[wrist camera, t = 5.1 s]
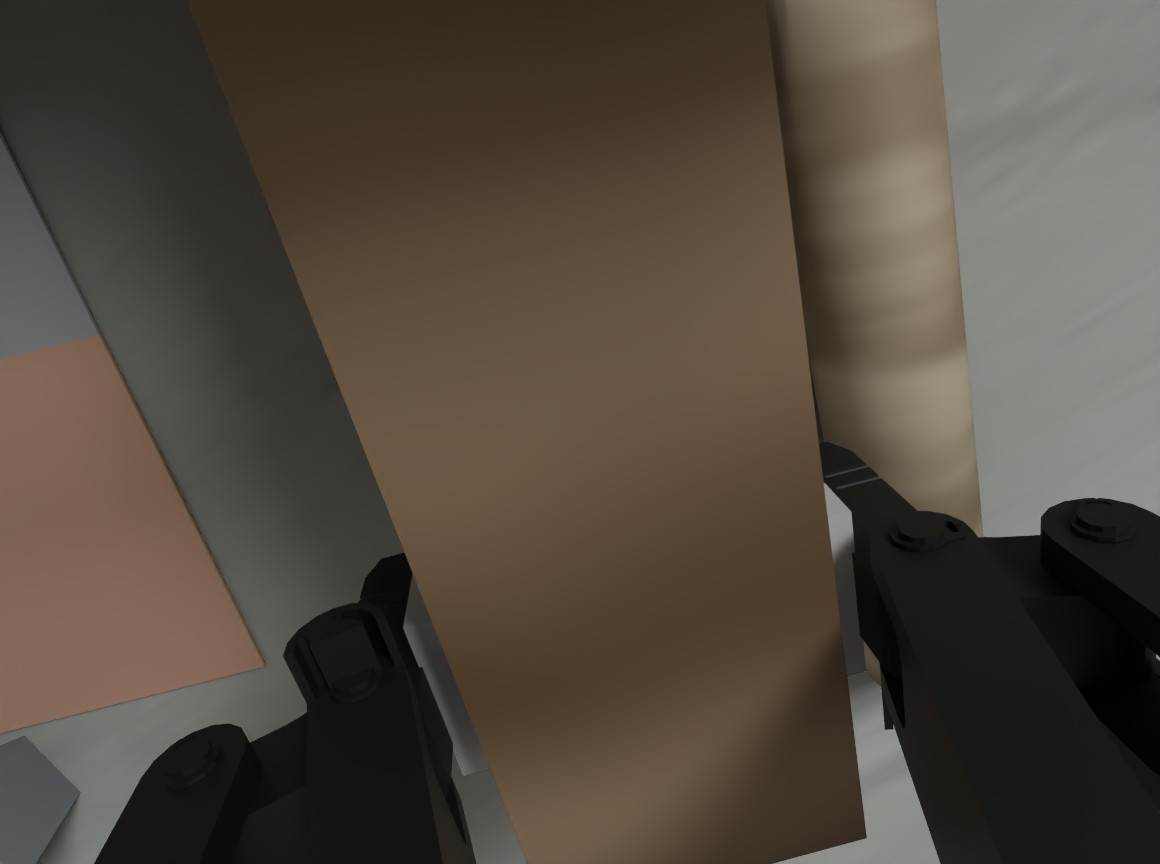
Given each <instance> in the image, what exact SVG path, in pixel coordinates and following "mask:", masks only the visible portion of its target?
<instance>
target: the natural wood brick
mask: <svg viewBox="0 0 1160 864" xmlns="http://www.w3.org/2000/svg"><path fill="white" fill-rule="evenodd" d="M187 3H188V5H189V8H190V11H191V13H192V16H193V18H194V21H195V23H196V26H197V28H198V31H199V33H200V36H201V38H202V41H203V43H204V46H205V49H206V51H207V54H208V56H209V59H210V61H211V64H212V66H213V69H214V71H215V74H216V76H217V79H218V81H219V84H220V87H221V89H222V92H223V94H224V97H225V99H226V102H227V104H228V107H229V109H230V112H231V114H232V117H233V119H234V122H235V124H236V127H237V130H238V132H239V135H240V137H241V140H242V142H243V145H244V147H245V150H246V152H247V155H248V157H249V160H250V162H251V165H252V168H253V170H254V173H255V175H256V178H257V180H258V183H259V185H260V188H261V190H262V193H263V195H264V198H265V200H266V203H267V206H268V208H269V211H270V213H271V216H272V218H273V221H274V223H275V226H276V228H277V231H278V233H279V236H280V238H281V241H282V243H283V246H284V249H285V251H286V254H287V256H288V259H289V261H290V264H291V266H292V269H293V271H294V274H295V276H296V279H297V281H298V284H299V287H300V289H301V292H302V294H303V297H304V299H305V302H306V304H307V307H308V309H309V312H310V314H311V317H312V319H313V322H314V324H315V327H316V330H317V332H318V335H319V337H320V340H321V342H322V345H323V347H324V350H325V352H326V355H327V357H328V360H329V362H330V365H331V368H332V370H333V373H334V375H335V378H336V380H337V383H338V385H339V388H340V390H341V393H342V395H343V398H344V400H345V403H346V406H347V408H348V411H349V413H350V416H351V418H352V421H353V423H354V426H355V428H356V431H357V433H358V436H359V438H360V441H361V443H362V446H363V449H364V451H365V454H366V456H367V459H368V461H369V464H370V466H371V469H372V471H373V474H374V476H375V479H376V481H377V484H378V487H379V489H380V492H381V494H382V497H383V499H384V502H385V504H386V507H387V509H388V512H389V514H390V517H391V519H392V522H393V525H394V527H395V530H396V532H397V535H398V537H399V540H400V542H401V545H402V547H403V550H404V552H405V555H406V557H407V560H408V562H409V565H410V568H411V570H412V573H413V575H414V578H415V580H416V583H417V585H418V588H419V590H420V593H421V595H422V598H423V600H424V603H425V606H426V608H427V611H428V613H429V616H430V618H431V621H432V623H433V626H434V628H435V631H436V633H437V636H438V638H439V641H440V643H441V646H442V649H443V651H444V654H445V656H446V659H447V661H448V664H449V666H450V669H451V671H452V674H453V676H454V679H455V681H456V684H457V687H458V689H459V692H460V694H461V697H462V699H463V702H464V704H465V707H466V709H467V712H468V714H469V717H470V719H471V722H472V725H473V727H474V730H475V732H476V735H477V737H478V740H479V742H480V745H481V747H482V750H483V752H484V755H485V757H486V760H487V762H488V765H489V768H490V770H491V773H492V775H493V778H494V780H495V783H496V785H497V788H498V790H499V793H500V795H501V798H502V800H503V803H504V806H505V808H506V811H507V813H508V816H509V818H510V821H511V823H512V826H513V828H514V831H515V833H516V836H517V838H518V841H519V844H520V846H521V849H522V851H523V854H524V856H525V859H526V861H527V864H773V863H776V862H780V861H784V860H787V859H791V858H795V857H798V856H802V855H806V854H809V853H813V852H817V851H821V850H824V849H828V848H832V847H835V846H839V845H843V844H846V843H850V842H854V841H858V840H861V839H865V838H867V837H866V829H865V821H864V812H863V804H862V796H861V788H860V779H859V771H858V763H857V755H856V746H855V738H854V730H853V722H852V713H851V705H850V697H849V689H848V680H847V672H846V664H845V656H844V647H843V639H842V631H841V623H840V614H839V606H838V598H837V589H836V581H835V573H834V565H833V556H832V548H831V540H830V532H829V523H828V515H827V507H826V499H825V490H824V482H823V474H822V466H821V457H820V449H819V441H818V433H817V424H816V416H815V408H814V400H813V391H812V383H811V375H810V367H809V358H808V350H807V342H806V334H805V325H804V317H803V309H802V301H801V292H800V284H799V276H798V268H797V259H796V251H795V243H794V234H793V226H792V218H791V210H790V201H789V193H788V185H787V177H786V168H785V160H784V152H783V144H782V135H781V127H780V119H779V111H778V102H777V94H776V86H775V78H774V69H773V61H772V53H771V45H770V36H769V28H768V20H767V12H766V3H765V0H187Z"/></svg>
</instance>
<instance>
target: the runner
mask: <svg viewBox="0 0 1160 864" xmlns="http://www.w3.org/2000/svg"><path fill="white" fill-rule="evenodd" d="M265 665H266V664H265V662H264V660H263V658H262V656H261V654H260V652H259V650H258V648H257V646H256V644H255V642H254V640H253V638H252V636H251V634H250V632H249V630H248V628H247V626H246V624H245V622H244V620H243V618H242V616H241V614H240V612H239V610H238V608H237V606H236V604H235V602H234V600H233V598H232V596H231V594H230V592H229V590H228V588H227V586H226V584H225V582H224V580H223V578H222V576H221V574H220V572H219V570H218V568H217V566H216V564H215V562H214V560H213V558H212V556H211V554H210V552H209V550H208V548H207V546H206V543H205V541H204V539H203V537H202V535H201V533H200V531H199V529H198V527H197V525H196V523H195V521H194V519H193V517H192V515H191V513H190V511H189V509H188V507H187V505H186V503H185V501H184V499H183V497H182V495H181V493H180V491H179V489H178V487H177V485H176V483H175V481H174V479H173V477H172V475H171V473H170V471H169V469H168V467H167V465H166V463H165V461H164V459H163V457H162V455H161V453H160V451H159V449H158V447H157V445H156V443H155V441H154V439H153V437H152V435H151V433H150V431H149V429H148V427H147V425H146V423H145V421H144V419H143V417H142V415H141V413H140V411H139V409H138V407H137V405H136V403H135V401H134V399H133V397H132V395H131V393H130V391H129V389H128V387H127V385H126V383H125V381H124V379H123V377H122V375H121V373H120V371H119V369H118V367H117V365H116V363H115V361H114V359H113V357H112V355H111V353H110V351H109V349H108V347H107V345H106V343H105V341H104V339H103V337H102V335H101V333H100V331H99V329H98V327H97V325H96V323H95V321H94V319H93V317H92V315H91V313H90V311H89V309H88V307H87V305H86V302H85V300H84V298H83V296H82V294H81V292H80V290H79V288H78V286H77V284H76V282H75V280H74V278H73V276H72V274H71V272H70V270H69V268H68V266H67V264H66V262H65V260H64V258H63V256H62V254H61V252H60V250H59V248H58V246H57V244H56V242H55V240H54V238H53V236H52V234H51V232H50V230H49V228H48V226H47V224H46V222H45V220H44V218H43V216H42V214H41V212H40V210H39V208H38V206H37V204H36V202H35V200H34V198H33V196H32V194H31V192H30V190H29V188H28V186H27V184H26V182H25V180H24V178H23V176H22V174H21V172H20V170H19V168H18V166H17V164H16V162H15V160H14V158H13V156H12V154H11V152H10V150H9V148H8V146H7V144H6V142H5V140H4V138H3V136H2V134H1V132H0V733H4V732H8V731H12V730H16V729H20V728H24V727H28V726H32V725H36V724H40V723H44V722H48V721H52V720H56V719H60V718H64V717H67V716H71V715H75V714H79V713H83V712H87V711H91V710H95V709H99V708H103V707H107V706H111V705H115V704H119V703H123V702H127V701H131V700H135V699H139V698H143V697H147V696H151V695H155V694H159V693H163V692H167V691H171V690H175V689H179V688H183V687H187V686H191V685H195V684H199V683H203V682H207V681H211V680H215V679H219V678H223V677H227V676H231V675H235V674H239V673H242V672H246V671H250V670H254V669H258V668H262V667H265Z"/></svg>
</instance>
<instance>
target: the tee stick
mask: <svg viewBox="0 0 1160 864" xmlns="http://www.w3.org/2000/svg"><path fill="white" fill-rule="evenodd" d="M79 794H80V791H79V790H78V789H77V788H76V787H75V786H74V785H73V784H72V783H71V782H70V781H69V780H68V779H67V778H66V777H65V776H64V775H63V774H62V773H61V772H60V771H59V770H58V769H57V768H56V767H55V766H54V765H53V764H52V763H51V762H50V761H49V760H48V759H47V758H46V757H45V756H44V755H43V754H42V753H41V752H40V751H39V750H38V749H37V748H36V747H35V746H34V745H33V744H32V743H31V742H30V741H29V740H28V739H27V738H26V737H25V736H22V737H20V738H18V739H15V740H13V741H11V742H8V743H6V744H4V745H1V746H0V864H42V863H41V862H40V861H38V859H39V857H40V856H41V854H42V853H43V851H44V849H45V848H46V846H47V845H48V843H49V842H50V840H51V838H52V837H53V835H54V834H55V832H56V830H57V829H58V827H59V826H60V824H61V822H62V821H63V819H64V818H65V816H66V814H67V813H68V811H69V810H70V808H71V806H72V805H73V803H74V802H75V800H76V799H77V797H78V795H79Z"/></svg>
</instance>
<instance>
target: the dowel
mask: <svg viewBox="0 0 1160 864" xmlns="http://www.w3.org/2000/svg"><path fill="white" fill-rule="evenodd" d="M765 3H766V12H767V20H768V28H769V36H770V45H771V53H772V61H773V69H774V78H775V86H776V94H777V102H778V111H779V119H780V127H781V135H782V144H783V152H784V160H785V168H786V177H787V185H788V193H789V201H790V210H791V218H792V226H793V234H794V243H795V251H796V259H797V268H798V276H799V284H800V292H801V301H802V309H803V317H804V325H805V334H806V342H807V350H808V356H809V362H810V367H811V373H812V378H813V384H814V389H815V395H816V401H817V406H818V412H819V417H820V423H821V428H822V434H823V439H824V443H825V442H829V443H832V444H835V445H837V446H840V447H843V448H846V449H848V450H851V451H852V452H853V453H855V454H856V455H857V456H858V457H859V458H860V459H861V460H862V461H863V462H864V463H866V465H867V467H870V468H871V469H872V470H873V471H874V472H875V473H877V474H878V475H879V478H882V479H883V480H884V481H885V482H886V483H888V484H889V485H890V486H891V487H892V488H893V489H894V490H895V491H896V492H897V493H899V494H900V495H901V496H902V497H903V498H904V499H905V500H906V501H907V502H908V503H910V504H911V505H912V506H913V507H914V508H915V509H916V510H917V511H932V512H937V513H943V514H948V515H950V516H952V517H955V518H957V519H960V520H962V521H964V522H965V523H966V524H967V525H968V526H969V527H970V528H971V529H972V530H973V531H974V532H975V534H976V535H977V537H983V527H982V516H981V505H980V493H979V482H978V471H977V460H976V448H975V437H974V426H973V414H972V403H971V392H970V380H969V369H968V358H967V347H966V335H965V324H964V313H963V301H962V290H961V279H960V267H959V256H958V245H957V234H956V222H955V211H954V200H953V188H952V177H951V166H950V154H949V143H948V132H947V120H946V109H945V98H944V87H943V75H942V64H941V53H940V41H939V30H938V19H937V7H936V0H765ZM863 641H864V640H863ZM864 652H865V663H866V670H867V672H868V673H869V675H870V676H871V677H872V678H873V679H874V680H875V681H876V682H877V683H878V684H879V685H880V686H881V675H880V663H879V661H878V660H877V658H876V657H875V656H874V654H873V653H872V651H871V650H870V649H869V647H868V646H867V644H866V643H865V642H864Z"/></svg>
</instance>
